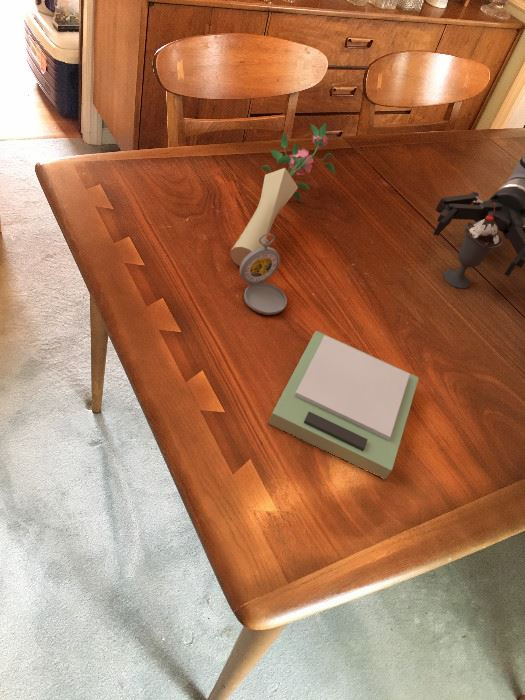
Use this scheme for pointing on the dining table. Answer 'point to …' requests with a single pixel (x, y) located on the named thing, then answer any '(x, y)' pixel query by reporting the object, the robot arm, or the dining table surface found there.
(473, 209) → the robot arm
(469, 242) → the sundae
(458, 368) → the dining table surface
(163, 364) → the dining table surface
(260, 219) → the flower vase
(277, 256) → the pocket watch
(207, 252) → the dining table surface
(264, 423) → the dining table surface
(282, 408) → the scale
